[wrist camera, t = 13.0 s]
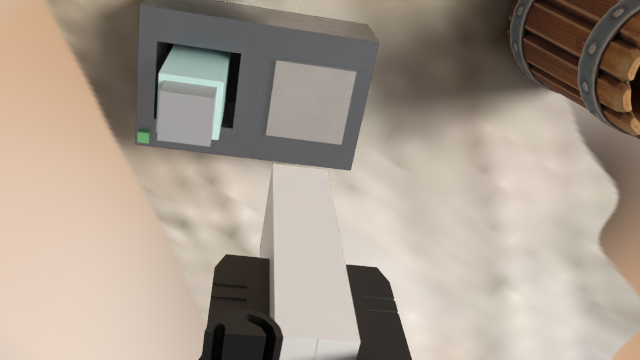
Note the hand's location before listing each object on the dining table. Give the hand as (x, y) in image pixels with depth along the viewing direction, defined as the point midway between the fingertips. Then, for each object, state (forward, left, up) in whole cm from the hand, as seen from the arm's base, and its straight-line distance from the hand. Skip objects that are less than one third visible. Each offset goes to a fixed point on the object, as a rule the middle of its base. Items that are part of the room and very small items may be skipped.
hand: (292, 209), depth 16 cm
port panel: (+6, -1, -30) cm, 31 cm away
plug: (+6, -5, -30) cm, 31 cm away
